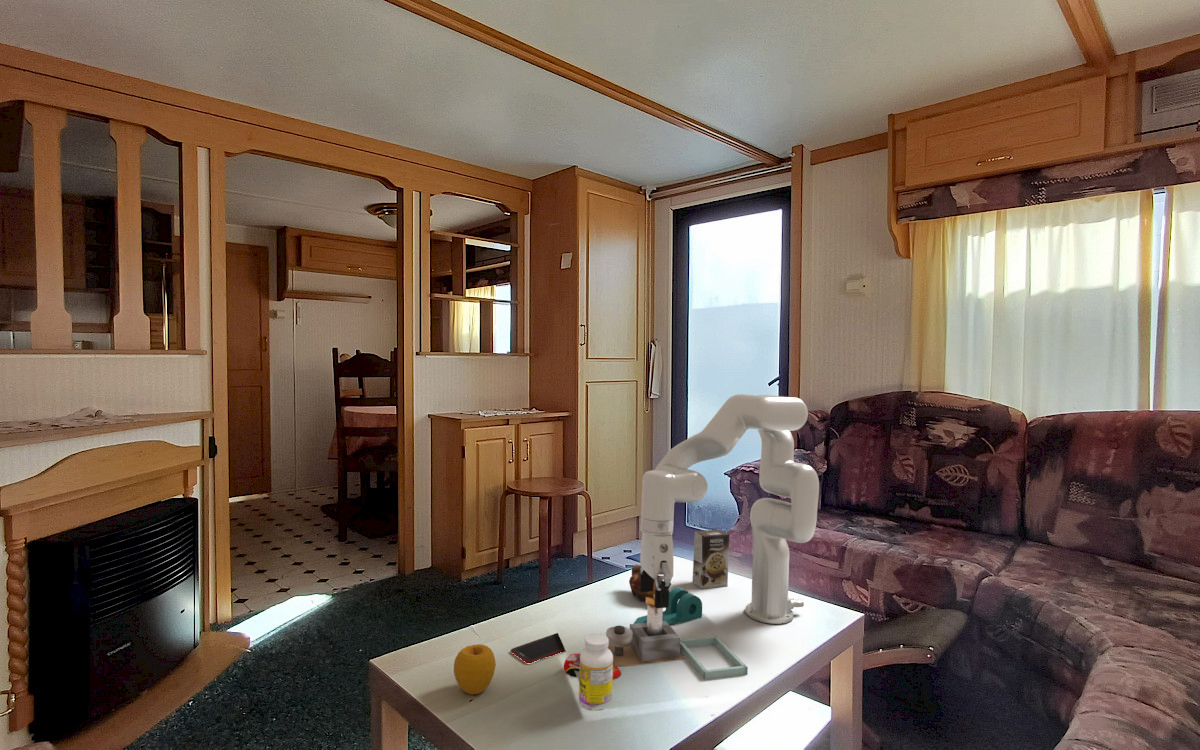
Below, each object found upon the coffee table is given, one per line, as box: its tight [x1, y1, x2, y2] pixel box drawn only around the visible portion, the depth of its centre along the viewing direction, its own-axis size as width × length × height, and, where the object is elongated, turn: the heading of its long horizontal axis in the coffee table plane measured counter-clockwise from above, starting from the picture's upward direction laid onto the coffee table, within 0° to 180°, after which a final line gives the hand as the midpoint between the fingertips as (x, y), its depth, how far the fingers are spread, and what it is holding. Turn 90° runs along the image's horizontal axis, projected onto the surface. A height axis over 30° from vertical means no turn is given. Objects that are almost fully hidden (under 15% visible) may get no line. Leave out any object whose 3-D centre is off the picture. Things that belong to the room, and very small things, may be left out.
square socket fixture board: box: [605, 621, 686, 668], centre depth 138 cm, size 17×11×8 cm, turn 105°
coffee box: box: [692, 529, 730, 589], centre depth 185 cm, size 9×6×16 cm
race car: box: [563, 652, 622, 681], centre depth 130 cm, size 13×5×4 cm, turn 62°
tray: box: [680, 635, 749, 680], centre depth 135 cm, size 10×15×3 cm, turn 15°
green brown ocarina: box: [628, 564, 664, 602], centre depth 174 cm, size 10×15×8 cm, turn 31°
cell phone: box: [510, 632, 567, 663], centre depth 142 cm, size 8×15×1 cm, turn 131°
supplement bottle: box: [578, 633, 613, 711], centre depth 120 cm, size 7×7×13 cm
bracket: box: [635, 586, 703, 627], centre depth 156 cm, size 18×7×8 cm, turn 121°
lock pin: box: [645, 594, 664, 636], centre depth 139 cm, size 4×4×12 cm
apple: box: [453, 643, 497, 696], centre depth 124 cm, size 8×8×9 cm
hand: (653, 599), depth 139 cm, fingers open, 9 cm apart
